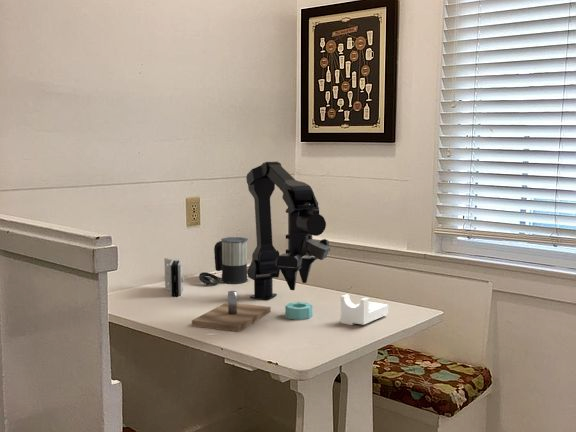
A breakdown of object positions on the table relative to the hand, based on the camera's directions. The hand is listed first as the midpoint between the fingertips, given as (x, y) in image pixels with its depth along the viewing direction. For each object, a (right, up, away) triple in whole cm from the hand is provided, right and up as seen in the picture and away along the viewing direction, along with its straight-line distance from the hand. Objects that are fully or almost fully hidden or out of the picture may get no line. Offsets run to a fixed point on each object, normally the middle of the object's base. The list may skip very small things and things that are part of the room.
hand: (298, 286), depth 180 cm
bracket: (+18, -9, -3) cm, 20 cm away
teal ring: (0, -8, +1) cm, 8 cm away
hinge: (-40, -5, +30) cm, 50 cm away
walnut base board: (-18, -9, -1) cm, 20 cm away
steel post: (-18, -9, -1) cm, 20 cm away
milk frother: (-25, -4, +43) cm, 50 cm away
